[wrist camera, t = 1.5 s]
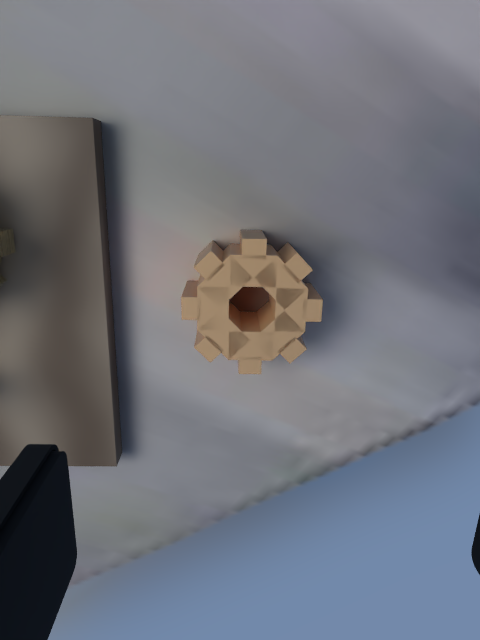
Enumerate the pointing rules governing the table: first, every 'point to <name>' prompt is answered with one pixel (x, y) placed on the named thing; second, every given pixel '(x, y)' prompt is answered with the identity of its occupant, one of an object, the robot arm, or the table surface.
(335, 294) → the table surface
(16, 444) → the gear board
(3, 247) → the green gear
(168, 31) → the table surface
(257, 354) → the tan gear
